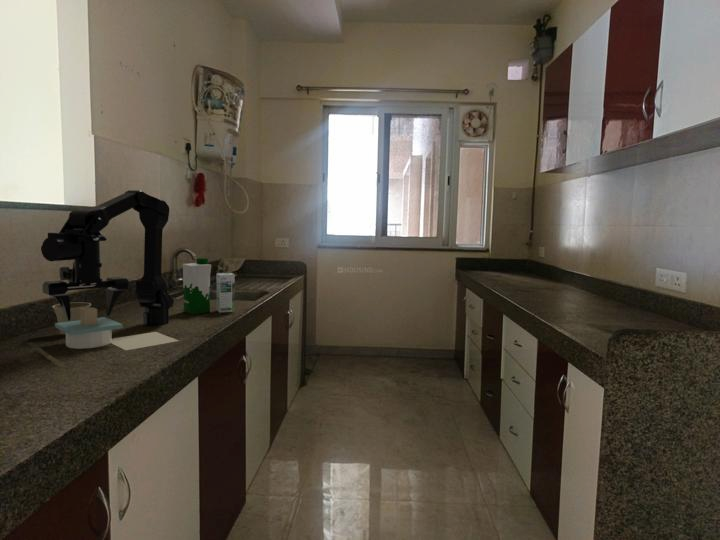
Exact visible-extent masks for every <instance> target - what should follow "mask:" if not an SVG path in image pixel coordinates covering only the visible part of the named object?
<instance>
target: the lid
mask: <svg viewBox="0 0 720 540" xmlns="http://www.w3.org/2000/svg"><path fill="white" fill-rule="evenodd" d="M54 327H55V328H56V329H58V330H59V329H60V330H62V331H64V332H65V333H67V334H69V335H77V334H84V333H91V332H98V331H105V330H117V329H118V330H119V329H123V327H124V326H123V324H122V323H121V322H118V321H116V320H113V319H110V318H108V317H105V316H102V317H98V308H95V307H93V306H92V307H91V306H90V308H81V309H80V320H78V321H70V322H61V323H58V322H55V324H54ZM60 330H59V331H60Z"/></svg>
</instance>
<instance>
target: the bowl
mask: <svg viewBox="0 0 720 540" xmlns="http://www.w3.org/2000/svg"><path fill="white" fill-rule="evenodd" d="M112 330H113V329H112ZM112 330H105V331H98V332H91V333H84V334H77V335H69V334H67V333H66V334H65V346H66V347H67V348H69V349H81V350H82V349H92V348H94V349H95V348H101V347H104V346H107V345H110V344H111V343H110V342H111V341H112V339H113V337H112V335H113V334H112V332H113V331H112Z"/></svg>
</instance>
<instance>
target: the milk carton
mask: <svg viewBox="0 0 720 540" xmlns="http://www.w3.org/2000/svg"><path fill="white" fill-rule="evenodd" d="M211 271H212V264H210V263H209V258H206V257H198V258H196V262H195V263H194V262H193V263H191V262H189V263H182V273H183V274H182V279H183V282H182V287H183V297H182V299H183V312H184V313H186V314H189V315H199V314H198V313H201V314H207V313H206V312H210V313H211Z"/></svg>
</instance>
